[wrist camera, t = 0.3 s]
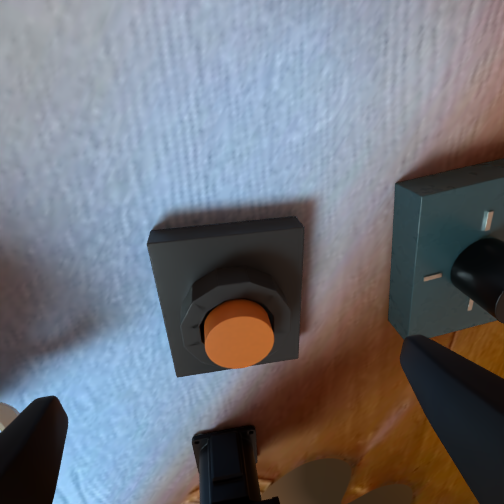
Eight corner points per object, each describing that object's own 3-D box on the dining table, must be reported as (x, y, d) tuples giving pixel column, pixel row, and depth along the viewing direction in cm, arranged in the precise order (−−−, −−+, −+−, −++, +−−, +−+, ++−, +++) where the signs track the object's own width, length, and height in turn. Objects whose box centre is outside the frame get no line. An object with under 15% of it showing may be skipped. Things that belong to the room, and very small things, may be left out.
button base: (292, 341, 28) (306, 378, 24) (177, 358, 27) (175, 400, 23) (296, 215, 22) (315, 240, 19) (150, 230, 21) (141, 259, 17)
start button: (269, 344, 23) (274, 363, 21) (207, 353, 22) (208, 373, 20) (268, 294, 20) (274, 311, 19) (200, 303, 20) (200, 321, 18)
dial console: (490, 294, 29) (520, 316, 26) (387, 320, 29) (408, 345, 26) (525, 152, 23) (571, 162, 20) (394, 183, 22) (423, 197, 19)
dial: (499, 282, 24) (555, 318, 20) (446, 295, 24) (492, 335, 20) (513, 231, 22) (578, 262, 18) (454, 246, 22) (508, 280, 18)
